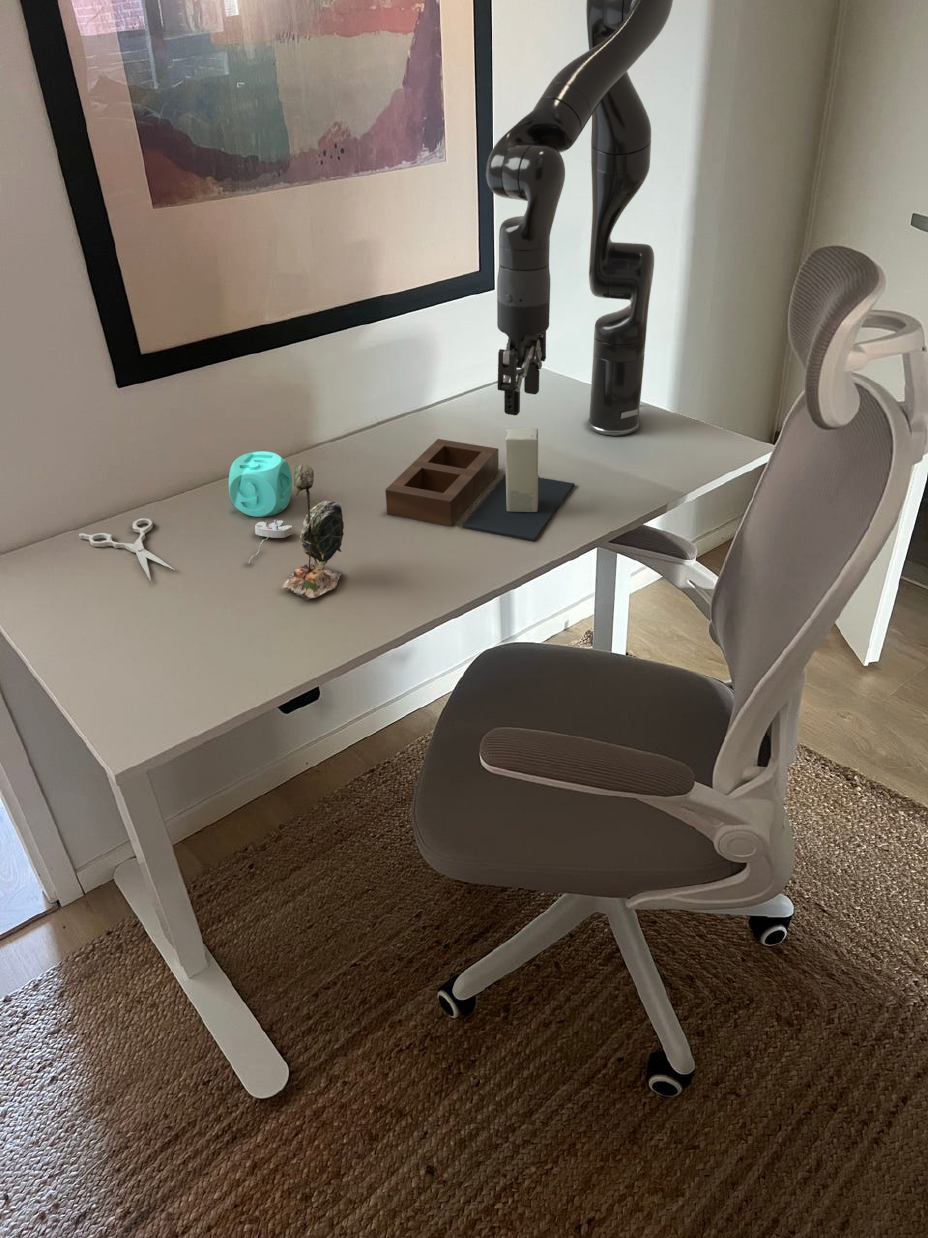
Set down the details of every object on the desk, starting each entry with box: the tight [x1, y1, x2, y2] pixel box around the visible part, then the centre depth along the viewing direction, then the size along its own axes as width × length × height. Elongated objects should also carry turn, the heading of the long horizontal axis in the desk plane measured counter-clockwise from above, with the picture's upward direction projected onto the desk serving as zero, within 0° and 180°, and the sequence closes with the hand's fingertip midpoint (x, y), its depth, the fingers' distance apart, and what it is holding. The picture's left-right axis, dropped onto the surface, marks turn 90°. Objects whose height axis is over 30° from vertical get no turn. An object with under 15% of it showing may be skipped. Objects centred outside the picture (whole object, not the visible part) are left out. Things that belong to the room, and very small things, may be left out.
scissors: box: [78, 518, 176, 581], centre depth 151 cm, size 11×1×20 cm
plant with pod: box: [281, 463, 345, 601], centre depth 138 cm, size 8×11×20 cm
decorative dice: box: [228, 451, 293, 518], centre depth 161 cm, size 8×8×8 cm
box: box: [504, 427, 539, 512], centre depth 156 cm, size 5×4×13 cm
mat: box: [462, 474, 575, 542], centre depth 161 cm, size 20×12×1 cm, turn 157°
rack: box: [384, 438, 499, 527], centre depth 164 cm, size 21×11×4 cm, turn 157°
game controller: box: [248, 519, 293, 565], centre depth 151 cm, size 6×12×3 cm, turn 2°
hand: (522, 403), depth 150 cm, fingers open, 8 cm apart
